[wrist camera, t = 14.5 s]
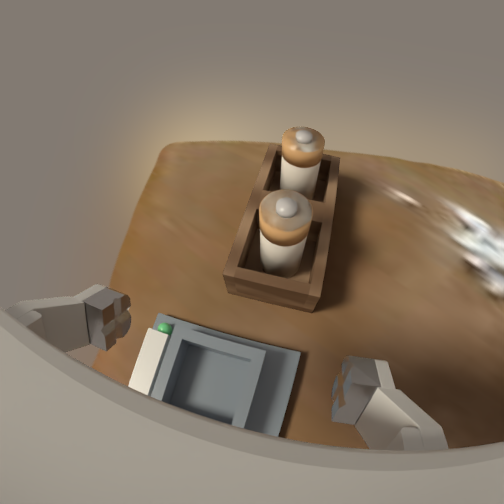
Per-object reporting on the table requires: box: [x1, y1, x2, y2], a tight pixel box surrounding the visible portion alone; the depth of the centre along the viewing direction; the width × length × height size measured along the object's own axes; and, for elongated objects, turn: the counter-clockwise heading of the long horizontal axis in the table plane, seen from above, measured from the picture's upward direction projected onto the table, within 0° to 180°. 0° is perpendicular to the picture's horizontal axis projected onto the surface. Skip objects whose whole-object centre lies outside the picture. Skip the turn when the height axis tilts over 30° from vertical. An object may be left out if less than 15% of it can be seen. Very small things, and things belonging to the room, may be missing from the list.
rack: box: [223, 144, 340, 313], centre depth 30 cm, size 18×8×4 cm, turn 165°
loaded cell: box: [280, 127, 325, 200], centre depth 29 cm, size 4×4×9 cm
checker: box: [128, 313, 301, 437], centre depth 23 cm, size 10×14×4 cm
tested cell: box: [259, 190, 313, 278], centre depth 25 cm, size 4×4×9 cm
